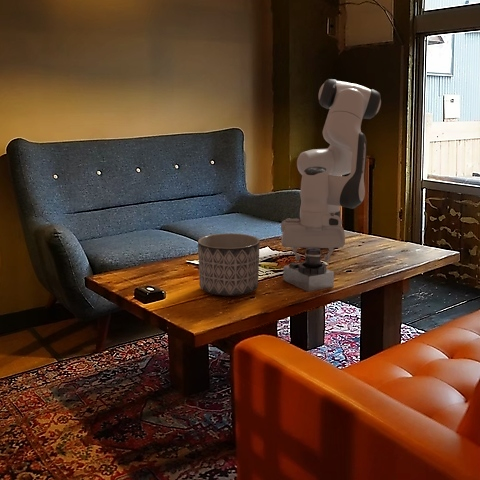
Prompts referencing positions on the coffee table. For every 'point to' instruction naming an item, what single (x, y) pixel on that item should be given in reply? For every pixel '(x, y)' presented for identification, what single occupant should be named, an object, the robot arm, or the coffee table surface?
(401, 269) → the coffee table surface
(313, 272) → the camera body
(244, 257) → the planter
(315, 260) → the lens
